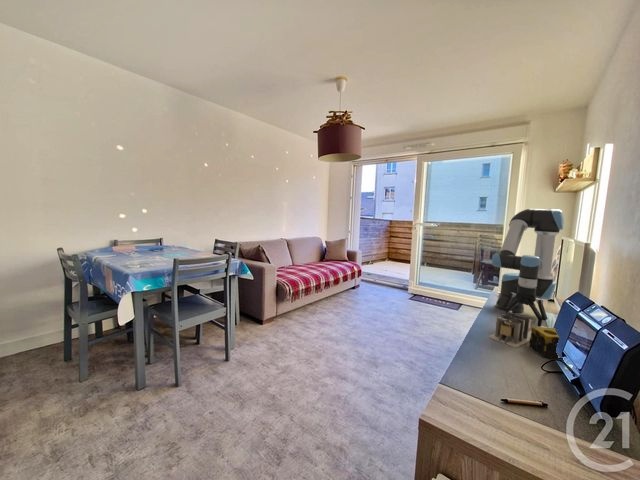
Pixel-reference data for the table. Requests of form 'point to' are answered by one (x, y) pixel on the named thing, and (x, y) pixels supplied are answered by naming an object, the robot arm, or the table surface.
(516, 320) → the collar
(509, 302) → the robot arm
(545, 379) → the table surface
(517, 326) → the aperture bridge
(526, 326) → the collar
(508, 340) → the long cream board
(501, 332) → the long golden plank
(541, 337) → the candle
